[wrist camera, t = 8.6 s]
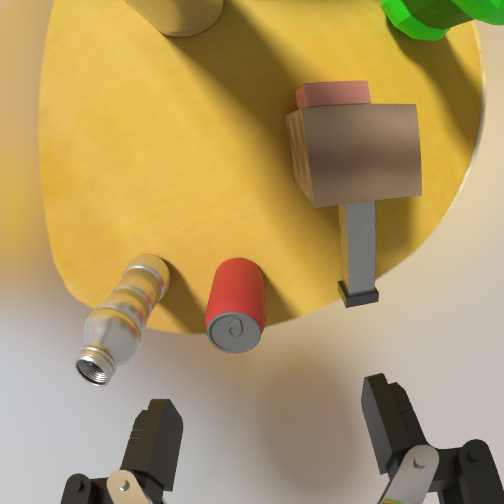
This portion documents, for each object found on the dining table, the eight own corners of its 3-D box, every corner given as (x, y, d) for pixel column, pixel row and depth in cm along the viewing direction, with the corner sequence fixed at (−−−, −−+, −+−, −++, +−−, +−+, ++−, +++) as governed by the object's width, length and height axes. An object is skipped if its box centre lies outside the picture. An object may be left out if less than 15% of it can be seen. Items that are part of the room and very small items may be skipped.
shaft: (324, 130, 26) (334, 130, 23) (360, 127, 26) (374, 128, 23) (337, 289, 34) (346, 307, 30) (367, 284, 33) (378, 301, 30)
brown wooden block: (284, 115, 31) (301, 108, 20) (364, 109, 30) (415, 104, 19) (294, 180, 34) (314, 208, 23) (371, 171, 34) (421, 195, 22)
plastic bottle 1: (182, 264, 39) (133, 372, 21) (161, 298, 42) (114, 405, 23) (142, 240, 38) (66, 332, 20) (125, 275, 40) (58, 371, 22)
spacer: (294, 91, 30) (303, 83, 24) (347, 88, 30) (367, 80, 24) (298, 110, 31) (307, 106, 25) (350, 106, 31) (370, 103, 24)
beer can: (268, 261, 39) (273, 315, 28) (256, 302, 42) (257, 361, 31) (219, 251, 38) (206, 302, 27) (211, 292, 41) (198, 350, 30)
